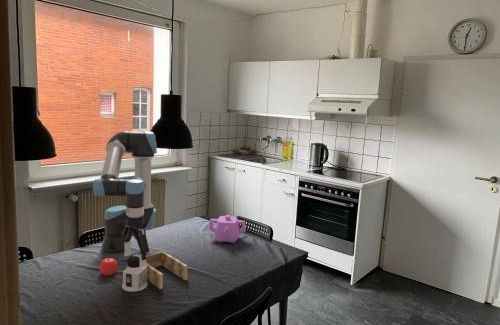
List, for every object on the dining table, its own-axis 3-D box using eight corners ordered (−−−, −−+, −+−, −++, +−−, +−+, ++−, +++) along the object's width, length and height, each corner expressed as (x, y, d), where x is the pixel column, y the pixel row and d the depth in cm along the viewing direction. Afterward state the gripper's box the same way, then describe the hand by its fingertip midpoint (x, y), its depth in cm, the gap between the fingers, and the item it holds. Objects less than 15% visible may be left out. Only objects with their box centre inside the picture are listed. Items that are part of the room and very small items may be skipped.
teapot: (225, 248, 216) (226, 223, 214) (204, 239, 229) (205, 215, 226) (248, 240, 230) (250, 216, 228) (227, 231, 242) (229, 209, 240)
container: (138, 289, 165) (138, 262, 163) (122, 287, 167) (122, 259, 165) (147, 281, 173) (147, 254, 170) (131, 279, 174) (131, 252, 172)
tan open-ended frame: (136, 272, 183) (136, 258, 181) (162, 263, 193) (162, 250, 191) (160, 289, 168) (160, 274, 167) (187, 279, 178) (187, 265, 177)
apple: (120, 271, 182) (120, 256, 181) (109, 279, 175) (109, 262, 173) (107, 268, 185) (107, 253, 183) (95, 275, 177) (95, 259, 176)
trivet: (117, 284, 170) (117, 283, 170) (140, 277, 178) (140, 276, 178) (129, 294, 162) (129, 293, 162) (152, 286, 170) (152, 285, 170)
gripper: (113, 209, 170) (114, 253, 174) (141, 225, 153) (141, 273, 157) (129, 206, 176) (129, 249, 180) (157, 221, 158) (157, 268, 162)
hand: (135, 260), depth 168 cm, fingers open, 13 cm apart
